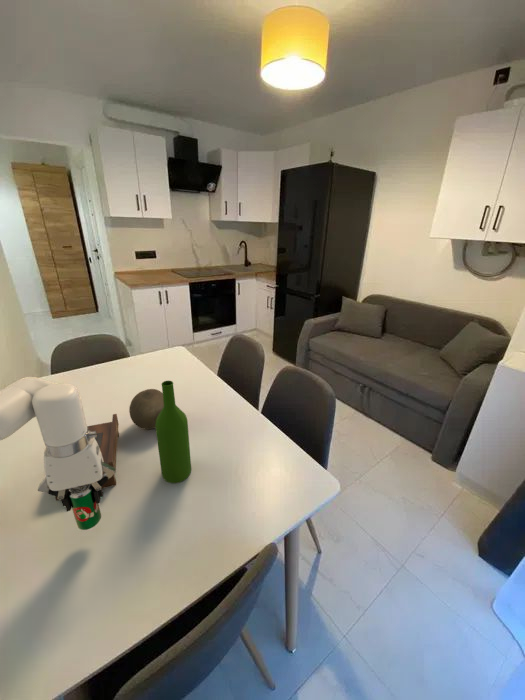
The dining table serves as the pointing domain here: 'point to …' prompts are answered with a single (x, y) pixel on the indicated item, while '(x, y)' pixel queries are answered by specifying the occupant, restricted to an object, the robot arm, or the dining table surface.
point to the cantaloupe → (146, 408)
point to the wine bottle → (173, 438)
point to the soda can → (84, 506)
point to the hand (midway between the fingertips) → (84, 501)
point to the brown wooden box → (107, 444)
